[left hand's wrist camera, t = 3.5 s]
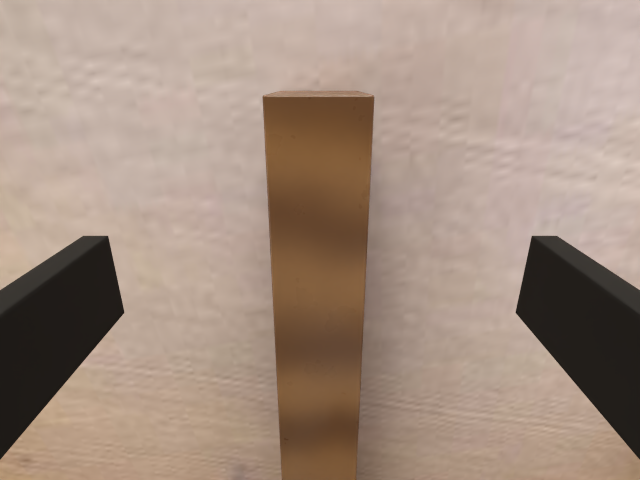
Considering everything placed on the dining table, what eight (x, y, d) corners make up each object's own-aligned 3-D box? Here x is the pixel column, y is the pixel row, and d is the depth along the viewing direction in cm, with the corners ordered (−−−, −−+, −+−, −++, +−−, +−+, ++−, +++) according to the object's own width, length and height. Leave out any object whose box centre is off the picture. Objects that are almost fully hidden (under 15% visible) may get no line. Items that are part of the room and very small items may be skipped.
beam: (279, 91, 24) (262, 95, 17) (358, 90, 24) (374, 95, 17) (297, 595, 43) (292, 696, 36) (341, 595, 43) (345, 696, 36)
